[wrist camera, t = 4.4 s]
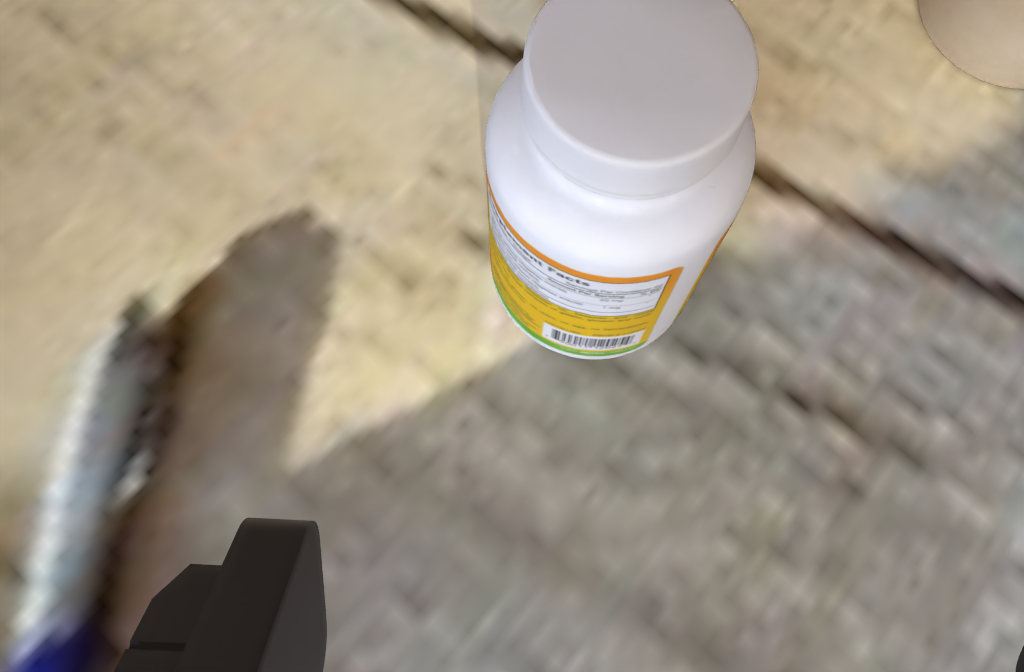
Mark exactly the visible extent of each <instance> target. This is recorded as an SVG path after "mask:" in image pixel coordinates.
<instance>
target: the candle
mask: <svg viewBox="0 0 1024 672" xmlns="http://www.w3.org/2000/svg"><path fill="white" fill-rule="evenodd" d="M918 1H919V11H920V15H921V19H922V22H923V24H924V27H925V30H926V31H927V33H928V35H929V37H930V39H931V40H932V42H933V43H934V44H935V46H936V47H937V48H938V50H939V51H940V52H941V53H942V54H943V55H944V56H945V57H946V58H947V59H948V60H950V61H951V62H952V63H953V64H954V65H955V66H957V67H958V68H960V69H961V70H963V71H964V72H966V73H968V74H970V75H972V76H973V77H975V78H977V79H980V80H982V81H985V82H987V83H991V84H994V85H998V86H1002V87H1008V88H1016V89H1024V0H918Z"/></svg>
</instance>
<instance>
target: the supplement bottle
mask: <svg viewBox="0 0 1024 672" xmlns="http://www.w3.org/2000/svg"><path fill="white" fill-rule="evenodd" d="M758 71H759V69H758V56H757V51H756V47H755V43H754V40H753V37H752V34H751V32H750V29H749V27H748V25H747V23H746V22H745V20H744V18H743V17H742V15H741V14H740V13H739V11H738V10H737V9H736V7H735V6H734V5H733V3H732V2H731V1H730V0H547V2H546V3H545V4H544V6H543V7H542V8H541V10H540V11H539V13H538V14H537V16H536V17H535V19H534V22H533V24H532V26H531V28H530V30H529V33H528V36H527V40H526V44H525V48H524V56H523V59H522V60H521V61H520V62H519V63H518V64H517V65H516V66H515V67H514V68H513V70H512V71H511V72H510V73H509V75H508V76H507V77H506V79H505V81H504V82H503V84H502V85H501V87H500V89H499V91H498V93H497V95H496V97H495V100H494V102H493V105H492V108H491V111H490V115H489V118H488V123H487V129H486V140H485V160H486V178H487V194H488V217H489V239H490V260H491V268H492V275H493V280H494V284H495V288H496V291H497V294H498V296H499V298H500V301H501V303H502V305H503V306H504V308H505V310H506V311H507V313H508V315H509V316H510V318H511V319H512V320H513V321H514V323H515V324H516V325H517V326H518V327H519V328H520V329H521V330H522V331H523V332H524V333H525V334H526V335H527V336H529V337H530V338H531V339H533V340H534V341H536V342H537V343H539V344H540V345H542V346H544V347H546V348H548V349H550V350H553V351H555V352H558V353H561V354H563V355H567V356H571V357H575V358H582V359H608V358H614V357H619V356H623V355H626V354H629V353H632V352H634V351H637V350H639V349H641V348H643V347H644V346H646V345H648V344H650V343H651V342H653V341H654V340H656V339H657V338H658V337H659V336H660V335H662V334H663V333H664V332H665V331H666V330H667V329H668V328H669V327H670V326H671V324H672V323H673V322H674V321H675V319H676V318H677V317H678V315H679V314H680V313H681V311H682V309H683V308H684V306H685V304H686V303H687V301H688V299H689V298H690V295H691V294H692V292H693V290H694V289H695V287H696V285H697V283H698V282H699V280H700V278H701V276H702V275H703V273H704V271H705V270H706V268H707V266H708V264H709V263H710V261H711V259H712V257H713V256H714V254H715V252H716V251H717V249H718V247H719V245H720V244H721V242H722V240H723V239H724V237H725V235H726V234H727V232H728V230H729V229H730V227H731V225H732V223H733V222H734V220H735V218H736V216H737V214H738V212H739V210H740V208H741V206H742V204H743V201H744V199H745V197H746V194H747V192H748V189H749V187H750V183H751V180H752V176H753V172H754V166H755V158H756V141H755V130H754V125H753V121H752V117H751V114H750V107H751V105H752V102H753V99H754V96H755V93H756V89H757V82H758Z"/></svg>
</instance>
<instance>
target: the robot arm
mask: <svg viewBox="0 0 1024 672" xmlns="http://www.w3.org/2000/svg"><path fill="white" fill-rule="evenodd" d="M326 640H327V621H326V608H325V596H324V584H323V572H322V560H321V548H320V536H319V530H318V526H317V523H316V522H315V521H306V520H286V519H265V518H246V519H245V520H244V521H243V522H242V523H241V525H240V527H239V529H238V531H237V533H236V535H235V537H234V540H233V542H232V544H231V546H230V549H229V551H228V553H227V555H226V557H225V560H224V562H223V564H222V566H221V565H201V564H190V565H189V566H188V567H187V568H186V569H184V570H183V571H182V572H181V573H180V574H179V575H178V576H177V577H176V578H175V579H173V580H172V581H171V582H170V583H169V584H168V585H167V586H166V587H165V588H163V589H162V590H161V591H160V592H159V593H158V594H157V595H156V596H155V597H154V598H152V600H151V602H150V604H149V606H148V608H147V610H146V612H145V613H144V615H143V617H142V619H141V621H140V623H139V625H138V627H137V629H136V631H135V632H134V634H133V636H132V638H131V640H130V647H129V649H126V650H125V652H124V653H123V655H122V657H121V659H120V661H119V663H118V665H117V667H116V669H115V671H114V672H323V667H324V661H325V652H326ZM1016 672H1024V646H1023V649H1022V651H1021V653H1020V656H1019V658H1018V662H1017V666H1016Z"/></svg>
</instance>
